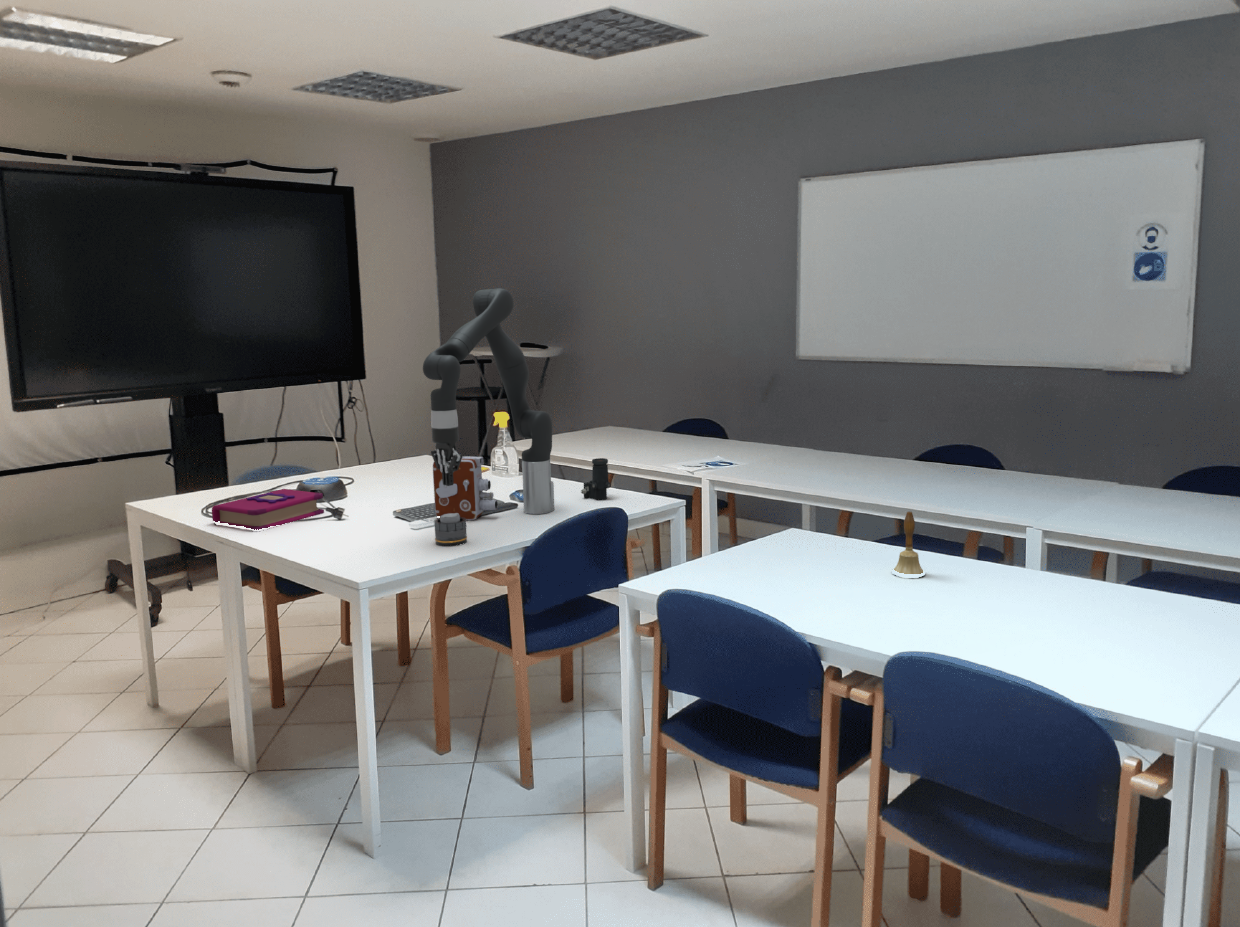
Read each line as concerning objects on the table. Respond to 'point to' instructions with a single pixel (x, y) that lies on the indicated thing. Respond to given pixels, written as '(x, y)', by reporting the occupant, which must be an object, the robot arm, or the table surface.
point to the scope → (597, 481)
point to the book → (268, 509)
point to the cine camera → (463, 490)
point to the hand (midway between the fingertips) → (448, 484)
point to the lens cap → (450, 518)
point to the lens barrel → (450, 533)
